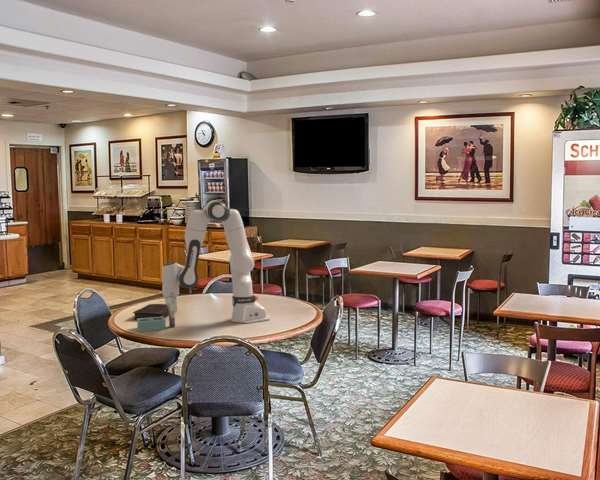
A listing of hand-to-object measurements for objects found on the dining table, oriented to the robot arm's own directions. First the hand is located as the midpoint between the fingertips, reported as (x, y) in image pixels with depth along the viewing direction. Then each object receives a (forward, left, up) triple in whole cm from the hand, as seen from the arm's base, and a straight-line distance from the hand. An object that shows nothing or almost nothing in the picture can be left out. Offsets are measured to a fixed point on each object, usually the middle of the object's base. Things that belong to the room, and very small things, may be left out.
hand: (171, 316), depth 315 cm
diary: (+6, -33, -6) cm, 34 cm away
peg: (0, 0, -6) cm, 6 cm away
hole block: (+11, -1, -6) cm, 12 cm away
